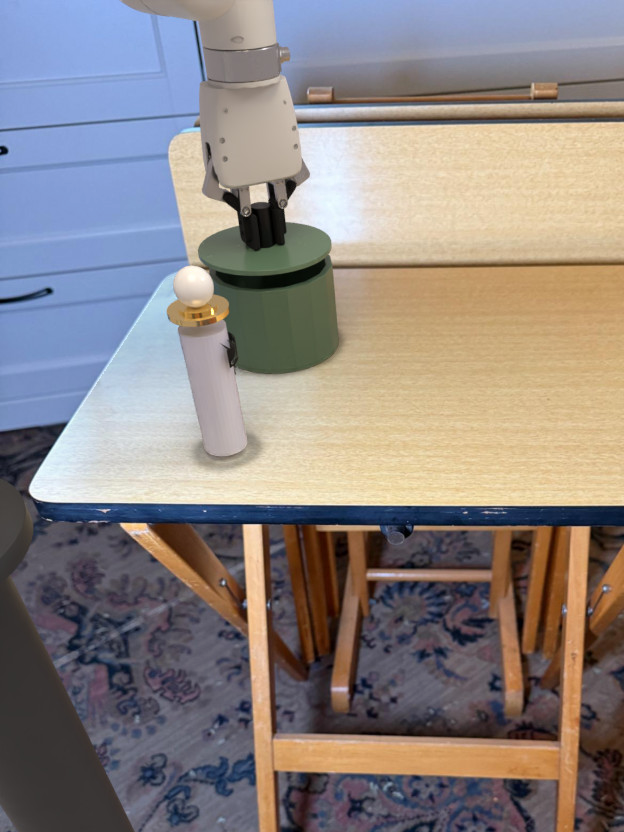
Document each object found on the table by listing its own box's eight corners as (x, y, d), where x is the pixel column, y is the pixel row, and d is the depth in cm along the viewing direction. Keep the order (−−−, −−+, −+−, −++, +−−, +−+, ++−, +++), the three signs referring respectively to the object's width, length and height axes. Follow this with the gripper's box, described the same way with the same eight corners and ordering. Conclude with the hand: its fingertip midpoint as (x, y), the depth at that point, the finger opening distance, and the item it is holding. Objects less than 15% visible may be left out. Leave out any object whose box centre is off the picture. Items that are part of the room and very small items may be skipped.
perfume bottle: (200, 469, 82) (156, 283, 69) (198, 438, 86) (157, 258, 73) (256, 461, 83) (223, 276, 70) (252, 431, 87) (220, 251, 74)
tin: (252, 385, 95) (238, 302, 88) (207, 338, 104) (191, 260, 97) (358, 352, 100) (353, 271, 93) (306, 309, 110) (298, 233, 103)
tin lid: (230, 292, 86) (222, 239, 82) (180, 248, 96) (170, 199, 92) (356, 261, 92) (353, 211, 88) (296, 222, 102) (291, 176, 99)
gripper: (296, 51, 87) (311, 221, 99) (154, 68, 81) (188, 249, 93) (329, 61, 82) (340, 239, 94) (179, 81, 76) (212, 270, 88)
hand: (264, 242), depth 93 cm, fingers closed on tin lid, 2 cm apart
